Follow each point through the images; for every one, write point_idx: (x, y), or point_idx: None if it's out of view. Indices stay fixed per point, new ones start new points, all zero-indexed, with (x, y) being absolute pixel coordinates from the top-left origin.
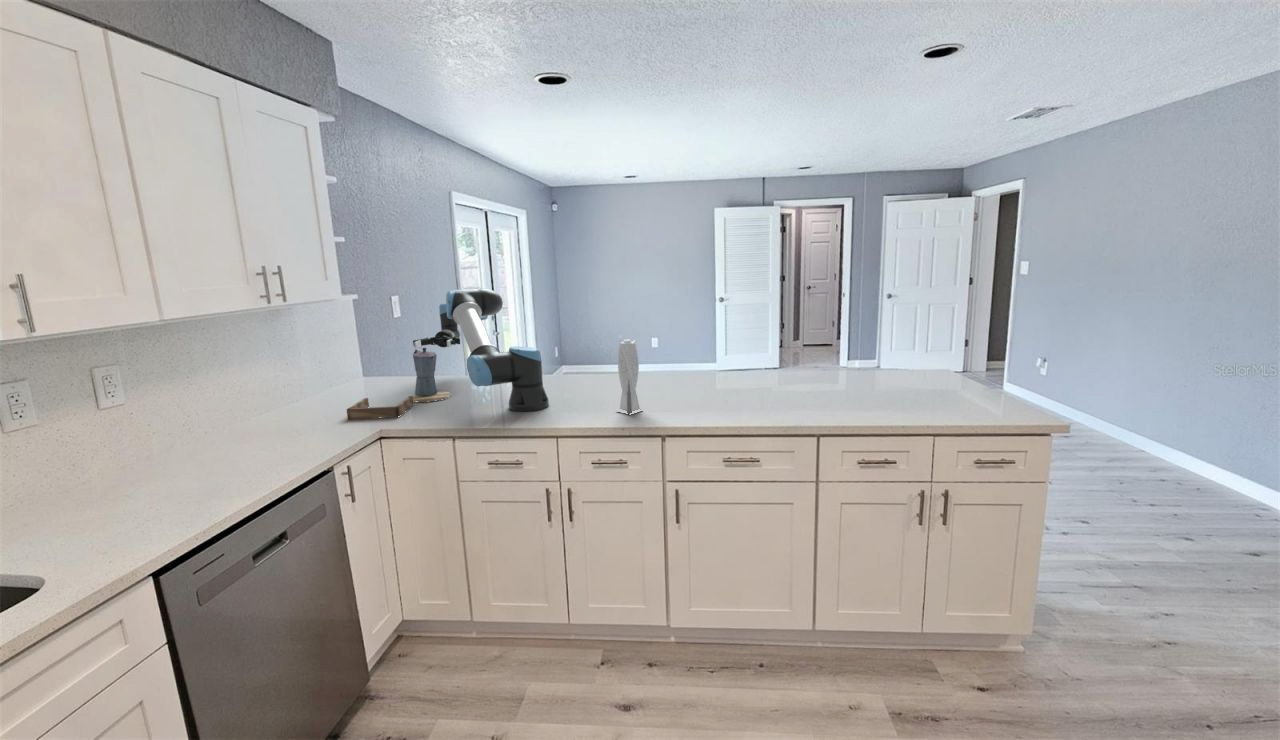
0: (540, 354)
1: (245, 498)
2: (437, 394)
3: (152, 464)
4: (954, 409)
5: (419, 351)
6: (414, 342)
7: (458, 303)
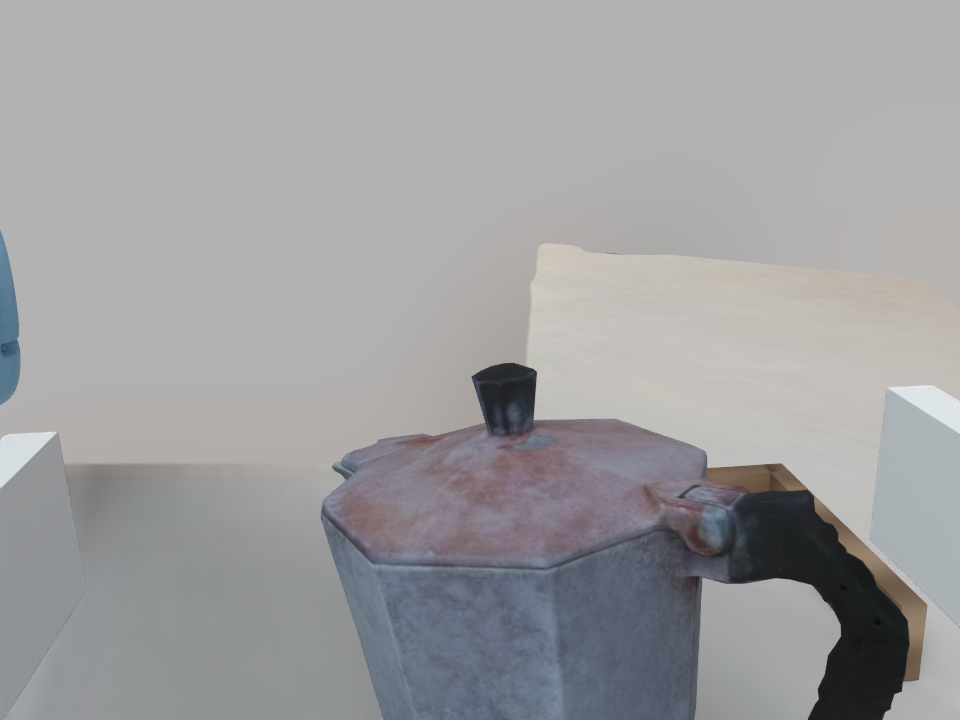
0: None
1: (552, 299)
2: None
3: None
4: None
5: (672, 491)
6: (923, 387)
7: None
